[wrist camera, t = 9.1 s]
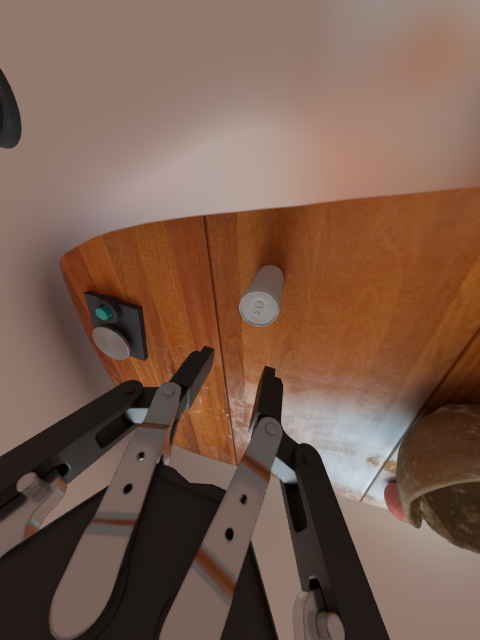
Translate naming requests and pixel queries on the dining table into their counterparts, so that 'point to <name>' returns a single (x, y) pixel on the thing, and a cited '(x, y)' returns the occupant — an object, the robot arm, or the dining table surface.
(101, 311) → the button
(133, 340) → the scale
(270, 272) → the beverage can
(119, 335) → the scale pan
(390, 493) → the apple
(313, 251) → the dining table surface
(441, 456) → the bowl
